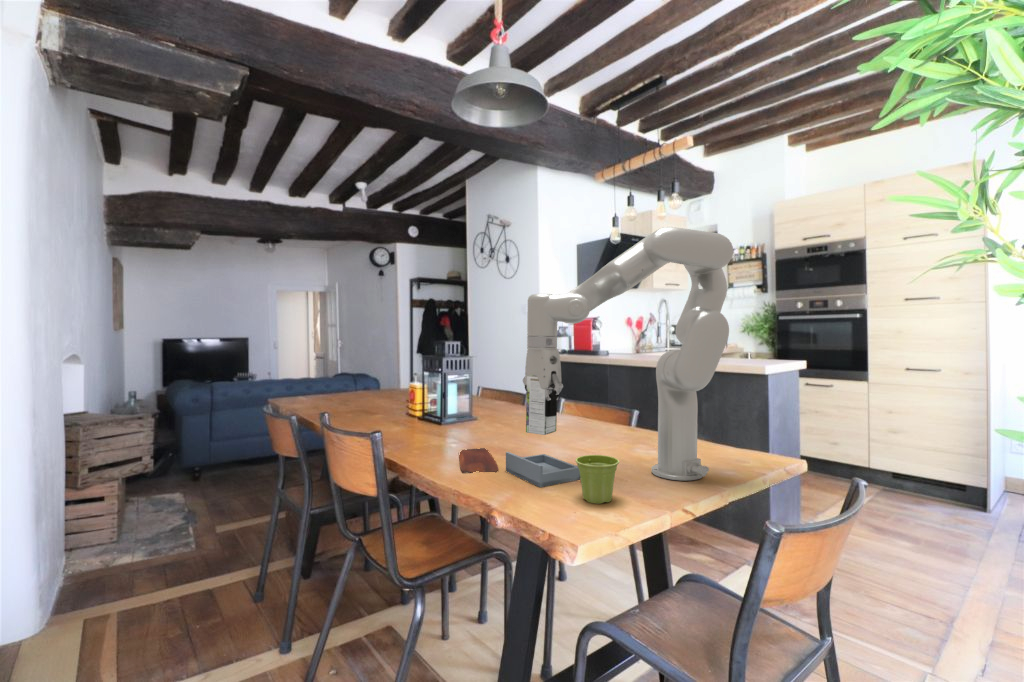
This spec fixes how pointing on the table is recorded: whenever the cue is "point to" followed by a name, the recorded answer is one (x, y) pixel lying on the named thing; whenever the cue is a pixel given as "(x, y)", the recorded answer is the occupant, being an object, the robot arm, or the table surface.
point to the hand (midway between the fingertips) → (541, 413)
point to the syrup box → (537, 409)
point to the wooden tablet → (477, 461)
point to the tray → (541, 469)
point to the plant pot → (597, 477)
